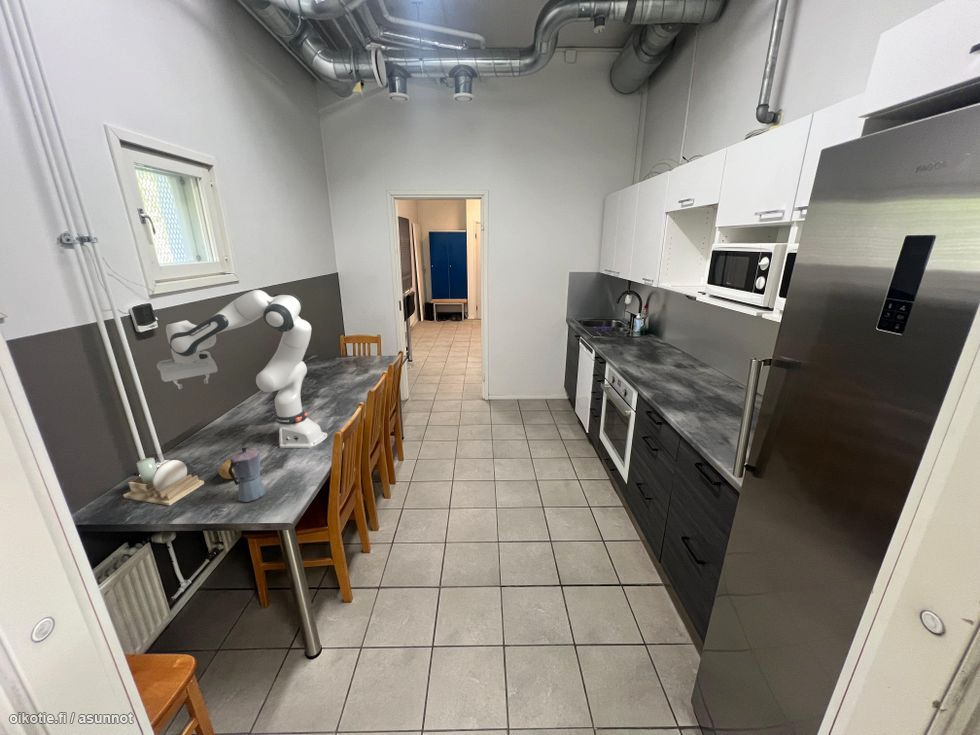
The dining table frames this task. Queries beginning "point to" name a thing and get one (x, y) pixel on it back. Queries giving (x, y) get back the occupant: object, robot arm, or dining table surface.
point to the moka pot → (247, 474)
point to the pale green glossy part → (147, 469)
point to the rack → (165, 484)
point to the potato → (226, 470)
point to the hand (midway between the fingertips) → (193, 385)
